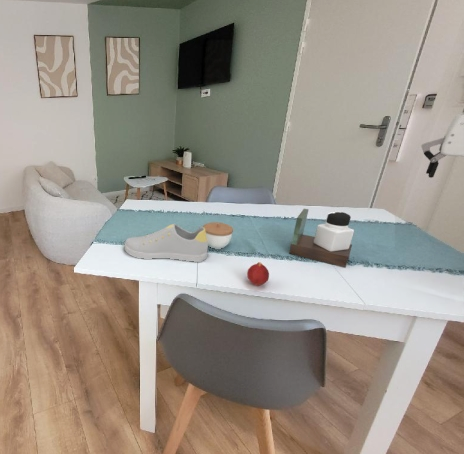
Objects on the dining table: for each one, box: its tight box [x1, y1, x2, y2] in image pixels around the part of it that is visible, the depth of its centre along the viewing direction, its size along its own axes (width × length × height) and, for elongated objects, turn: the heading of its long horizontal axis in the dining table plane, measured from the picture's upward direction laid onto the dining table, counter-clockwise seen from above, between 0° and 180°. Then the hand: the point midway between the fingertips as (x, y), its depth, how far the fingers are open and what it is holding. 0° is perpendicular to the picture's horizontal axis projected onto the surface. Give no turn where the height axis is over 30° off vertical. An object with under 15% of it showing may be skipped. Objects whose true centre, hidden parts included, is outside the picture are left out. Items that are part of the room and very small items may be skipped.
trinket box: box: [202, 221, 234, 250], centre depth 111 cm, size 11×11×9 cm
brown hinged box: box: [288, 208, 353, 268], centre depth 100 cm, size 16×11×14 cm
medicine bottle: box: [313, 211, 355, 252], centre depth 97 cm, size 7×7×12 cm
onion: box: [246, 261, 270, 287], centre depth 86 cm, size 6×6×8 cm
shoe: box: [124, 223, 209, 263], centre depth 106 cm, size 10×30×12 cm, turn 71°
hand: (457, 178), depth 75 cm, fingers open, 9 cm apart
